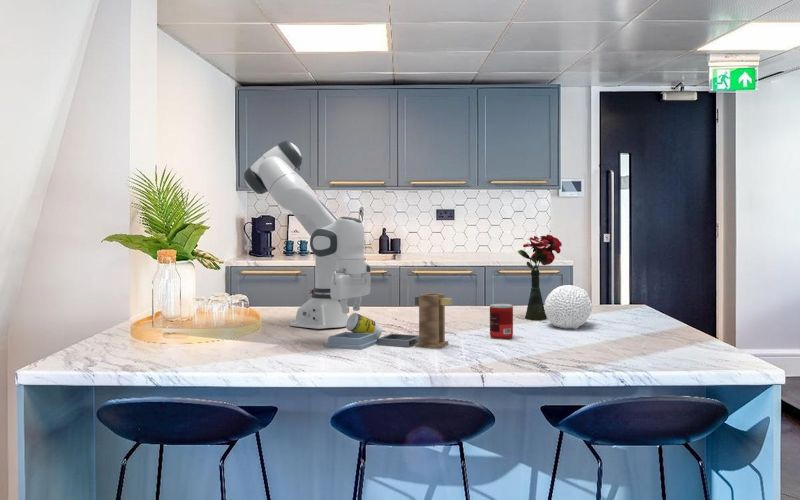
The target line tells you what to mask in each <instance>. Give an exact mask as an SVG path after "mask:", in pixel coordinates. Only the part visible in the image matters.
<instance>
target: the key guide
mask: <svg viewBox="0 0 800 500" xmlns="http://www.w3.org/2000/svg"><path fill="white" fill-rule="evenodd" d="M418 296H419V305H418V335H419V342H418V343H416V344H415V345H414V346H415V347H416V348H427V349H442V348H444V347H446V346H448V345H449V340H446V339H445V338H446V337H445V336H446V334H445V333H446V331H445V330H446V326H445V324H446V317H445V316H446V314H445V312H446V311H445V310H446V309H445V308H446V305H439V298H446V297H445V293H429V292H428V293H427V292H426V293H425V294H419V295H418Z"/></svg>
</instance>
